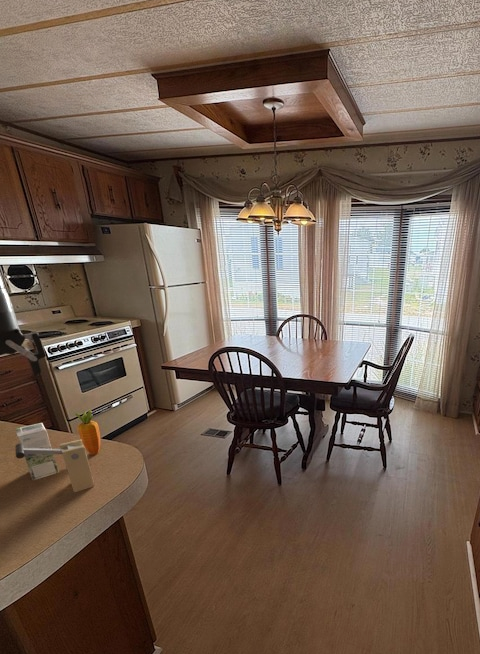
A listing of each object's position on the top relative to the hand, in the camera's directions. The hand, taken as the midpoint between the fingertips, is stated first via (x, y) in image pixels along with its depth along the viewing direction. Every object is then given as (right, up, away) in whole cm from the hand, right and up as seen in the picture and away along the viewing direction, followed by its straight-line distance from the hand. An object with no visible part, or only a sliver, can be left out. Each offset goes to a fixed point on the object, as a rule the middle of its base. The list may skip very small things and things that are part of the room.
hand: (13, 378), depth 82 cm
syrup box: (-1, -26, +11) cm, 28 cm away
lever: (+9, -19, -1) cm, 21 cm away
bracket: (+12, -28, +6) cm, 31 cm away
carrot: (+6, -22, +20) cm, 31 cm away
